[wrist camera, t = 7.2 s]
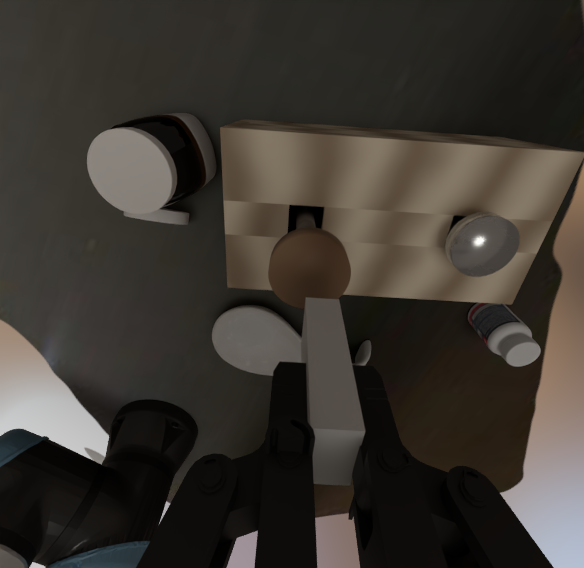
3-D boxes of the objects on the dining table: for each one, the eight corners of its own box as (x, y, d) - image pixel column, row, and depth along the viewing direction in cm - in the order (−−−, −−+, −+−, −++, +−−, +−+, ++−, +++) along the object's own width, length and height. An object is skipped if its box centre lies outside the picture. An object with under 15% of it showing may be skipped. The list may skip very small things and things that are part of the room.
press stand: (244, 240, 41) (227, 287, 31) (243, 119, 34) (220, 127, 24) (458, 253, 42) (511, 304, 31) (499, 137, 35) (586, 152, 24)
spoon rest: (212, 347, 51) (200, 381, 45) (221, 285, 45) (210, 315, 39) (353, 373, 53) (361, 410, 47) (379, 318, 48) (391, 351, 41)
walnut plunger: (277, 231, 32) (267, 307, 20) (279, 181, 30) (269, 233, 18) (327, 234, 32) (344, 311, 21) (333, 184, 30) (357, 239, 18)
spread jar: (203, 102, 34) (163, 103, 23) (240, 204, 39) (221, 241, 29) (103, 135, 35) (26, 150, 25) (152, 229, 41) (105, 272, 31)
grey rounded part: (398, 220, 38) (444, 274, 26) (408, 177, 35) (464, 215, 24) (440, 223, 38) (504, 278, 26) (453, 180, 35) (531, 219, 24)
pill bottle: (459, 317, 47) (490, 359, 39) (486, 291, 45) (526, 331, 37) (484, 332, 48) (520, 376, 41) (512, 307, 46) (555, 349, 38)
